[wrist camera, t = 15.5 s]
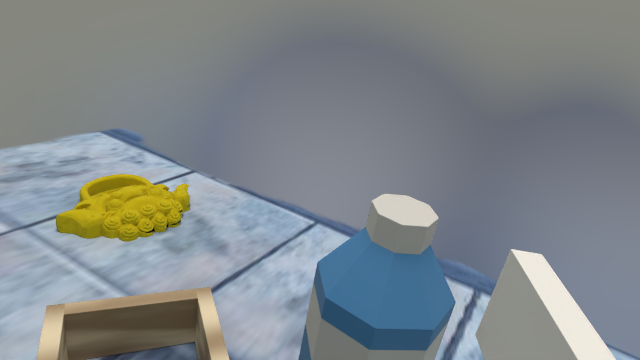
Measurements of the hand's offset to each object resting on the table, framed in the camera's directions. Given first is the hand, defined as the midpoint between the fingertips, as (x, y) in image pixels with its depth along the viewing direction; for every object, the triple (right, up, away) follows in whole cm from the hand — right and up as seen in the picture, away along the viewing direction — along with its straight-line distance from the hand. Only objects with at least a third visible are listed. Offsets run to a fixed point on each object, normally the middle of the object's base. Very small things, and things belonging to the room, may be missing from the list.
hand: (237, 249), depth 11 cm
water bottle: (+3, -23, +27) cm, 35 cm away
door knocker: (-28, -4, +59) cm, 65 cm away
